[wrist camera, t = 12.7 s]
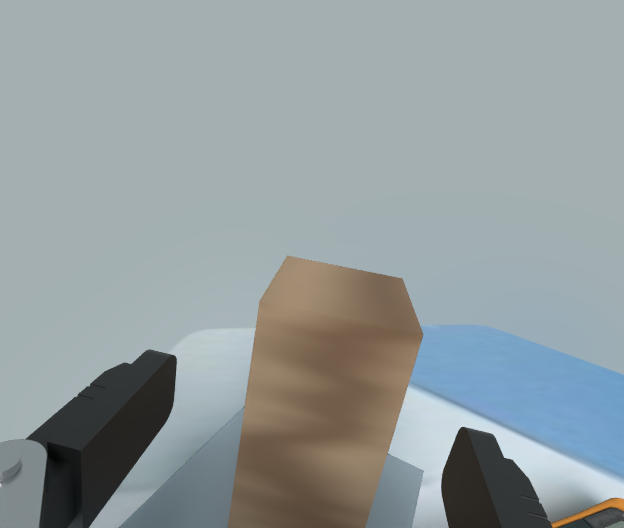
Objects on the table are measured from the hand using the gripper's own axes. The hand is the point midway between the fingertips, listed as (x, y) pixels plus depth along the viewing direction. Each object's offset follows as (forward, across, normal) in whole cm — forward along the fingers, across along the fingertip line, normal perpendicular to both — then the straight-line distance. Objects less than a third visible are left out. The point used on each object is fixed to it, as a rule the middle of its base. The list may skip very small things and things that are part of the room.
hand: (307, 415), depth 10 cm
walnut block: (+4, 0, +8) cm, 9 cm away
